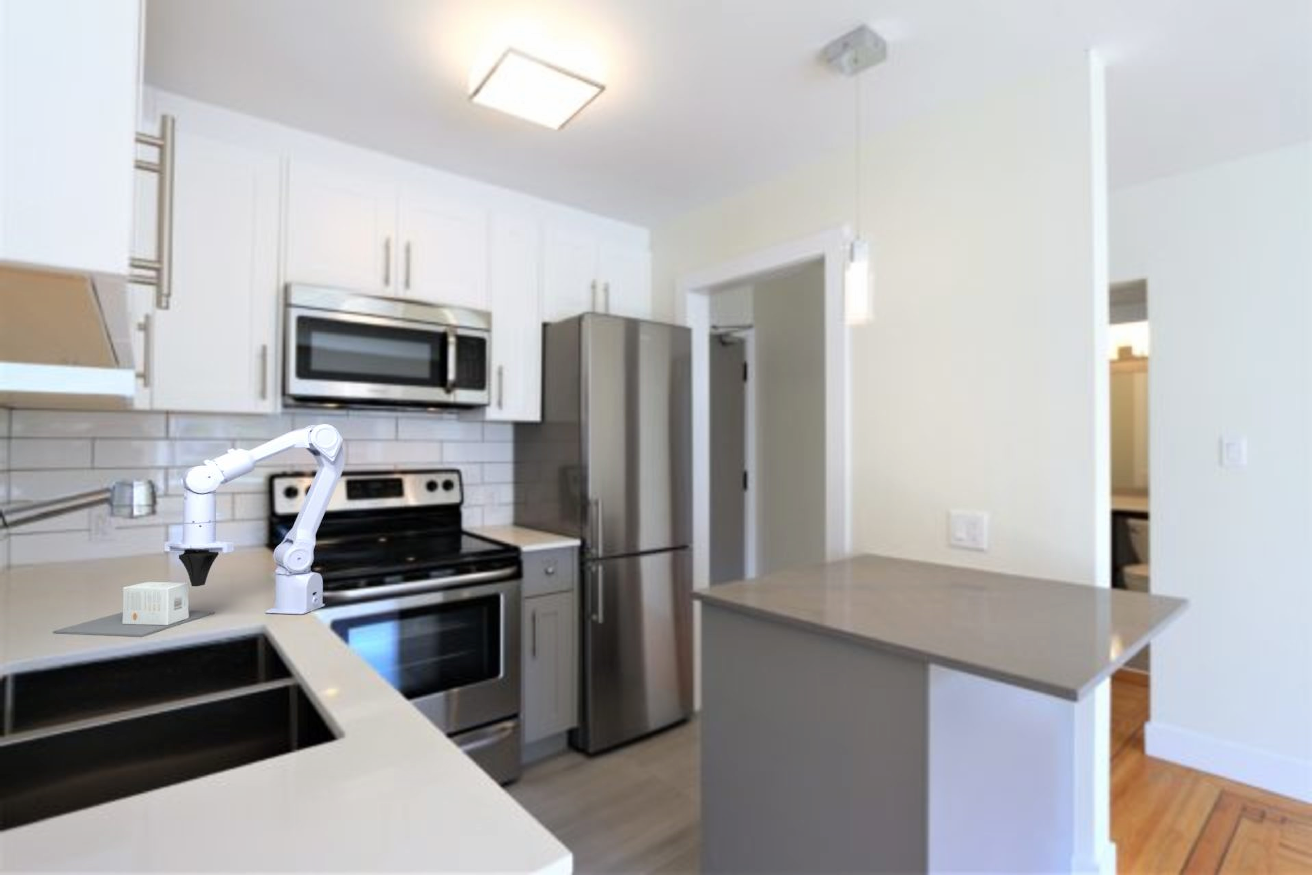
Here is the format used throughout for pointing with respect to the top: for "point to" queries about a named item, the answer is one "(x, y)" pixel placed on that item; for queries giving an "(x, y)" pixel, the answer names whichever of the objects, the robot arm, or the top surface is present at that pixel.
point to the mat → (123, 626)
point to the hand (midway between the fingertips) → (198, 585)
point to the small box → (155, 603)
